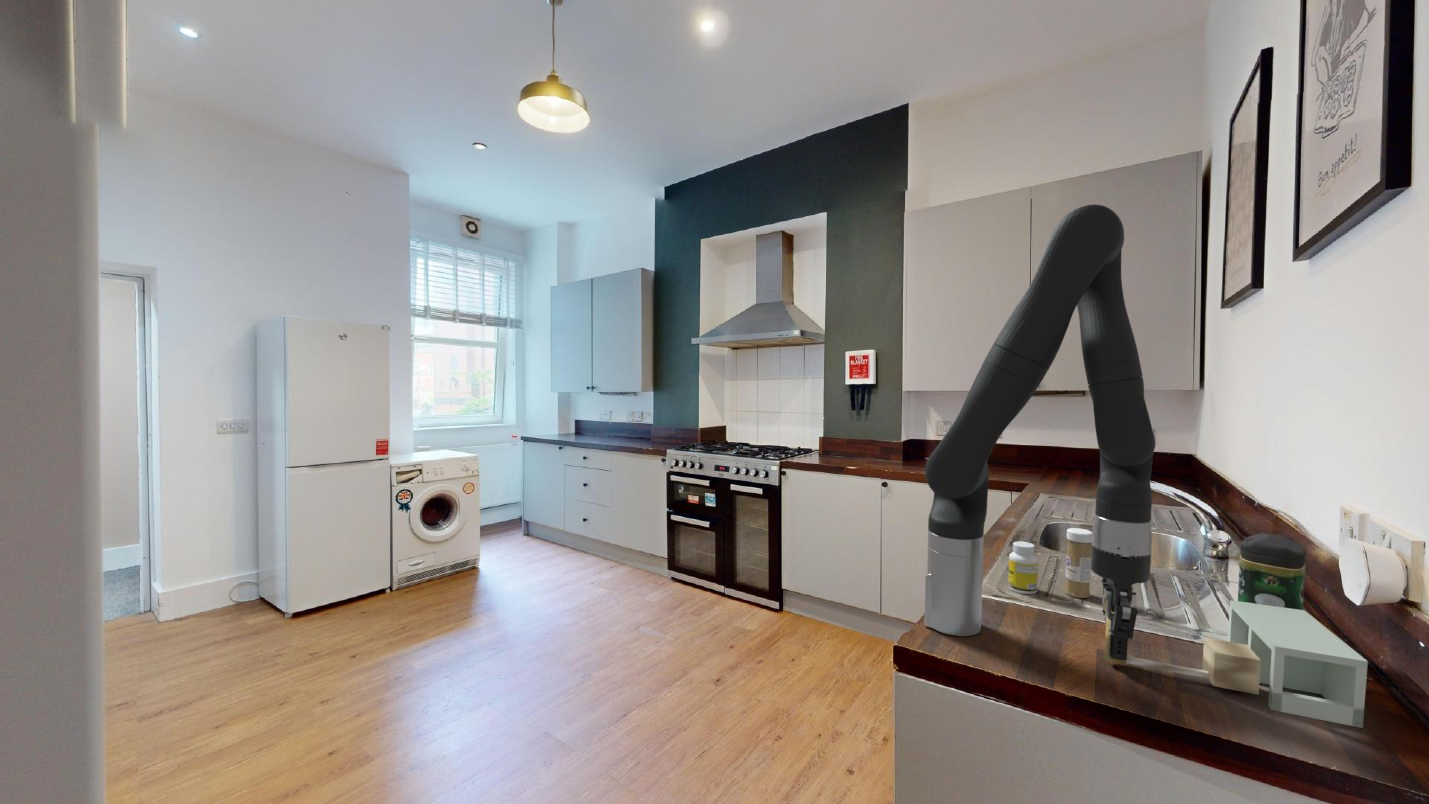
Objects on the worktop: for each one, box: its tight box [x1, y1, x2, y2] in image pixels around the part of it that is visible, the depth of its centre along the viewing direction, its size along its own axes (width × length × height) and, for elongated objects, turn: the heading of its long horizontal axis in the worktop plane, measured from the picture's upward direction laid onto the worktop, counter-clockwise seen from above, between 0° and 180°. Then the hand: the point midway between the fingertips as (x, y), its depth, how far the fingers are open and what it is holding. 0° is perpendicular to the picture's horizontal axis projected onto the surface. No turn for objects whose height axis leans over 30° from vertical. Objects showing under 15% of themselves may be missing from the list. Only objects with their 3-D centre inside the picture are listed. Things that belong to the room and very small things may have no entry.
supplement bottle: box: [1008, 541, 1039, 595], centre depth 120 cm, size 5×5×10 cm
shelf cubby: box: [1227, 600, 1369, 729], centre depth 84 cm, size 9×17×9 cm, turn 154°
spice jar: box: [1063, 527, 1093, 599], centre depth 118 cm, size 5×5×13 cm
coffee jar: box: [1237, 532, 1307, 610], centre depth 96 cm, size 10×8×19 cm
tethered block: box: [1104, 611, 1261, 696], centre depth 87 cm, size 18×5×8 cm, turn 64°
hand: (1115, 652), depth 90 cm, fingers closed on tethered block, 2 cm apart
